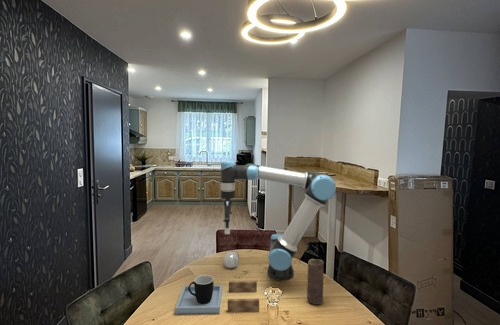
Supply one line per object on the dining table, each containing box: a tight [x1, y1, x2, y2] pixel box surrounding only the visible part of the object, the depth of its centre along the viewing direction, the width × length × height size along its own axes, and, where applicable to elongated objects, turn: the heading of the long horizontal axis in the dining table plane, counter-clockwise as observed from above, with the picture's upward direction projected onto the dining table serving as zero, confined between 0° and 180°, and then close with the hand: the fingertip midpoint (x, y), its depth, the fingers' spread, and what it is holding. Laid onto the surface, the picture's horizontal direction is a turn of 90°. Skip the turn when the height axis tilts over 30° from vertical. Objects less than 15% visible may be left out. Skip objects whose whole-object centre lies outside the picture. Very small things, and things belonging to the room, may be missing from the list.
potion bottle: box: [222, 250, 240, 269], centre depth 167 cm, size 9×10×15 cm
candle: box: [306, 258, 325, 305], centre depth 128 cm, size 8×7×20 cm
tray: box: [175, 284, 223, 316], centre depth 128 cm, size 19×19×3 cm
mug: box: [188, 274, 215, 304], centre depth 128 cm, size 12×9×10 cm
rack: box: [227, 280, 260, 313], centre depth 129 cm, size 14×18×5 cm
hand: (227, 229), depth 145 cm, fingers open, 13 cm apart
